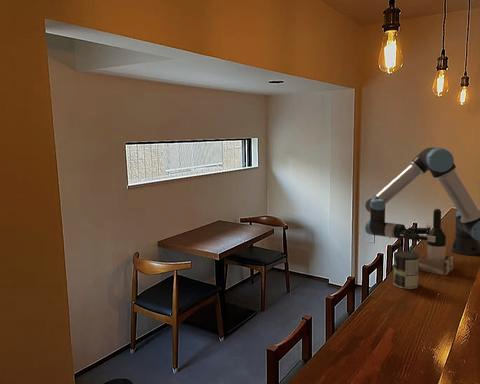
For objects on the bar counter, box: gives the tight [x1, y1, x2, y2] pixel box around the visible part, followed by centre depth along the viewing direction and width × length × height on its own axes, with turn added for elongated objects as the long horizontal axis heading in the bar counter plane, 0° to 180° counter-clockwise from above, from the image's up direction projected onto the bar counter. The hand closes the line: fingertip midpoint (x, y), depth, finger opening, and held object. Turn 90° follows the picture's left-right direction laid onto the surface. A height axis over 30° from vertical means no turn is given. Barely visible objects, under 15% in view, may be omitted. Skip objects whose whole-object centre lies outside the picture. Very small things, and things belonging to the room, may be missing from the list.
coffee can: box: [392, 250, 420, 290], centre depth 175 cm, size 10×10×14 cm
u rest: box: [418, 252, 455, 276], centre depth 194 cm, size 12×12×6 cm
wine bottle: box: [426, 208, 447, 262], centre depth 192 cm, size 8×8×30 cm
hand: (439, 236), depth 191 cm, fingers open, 13 cm apart
